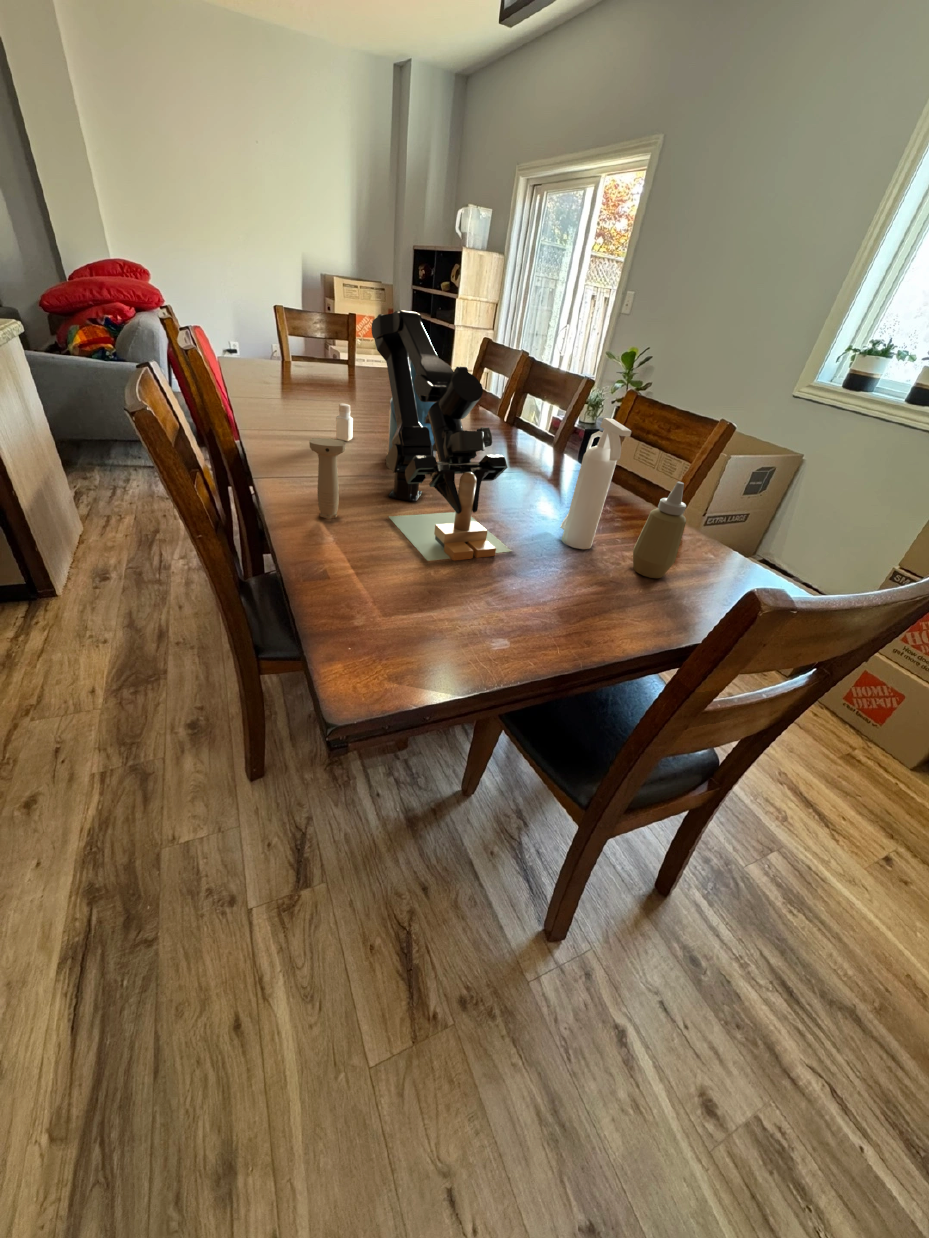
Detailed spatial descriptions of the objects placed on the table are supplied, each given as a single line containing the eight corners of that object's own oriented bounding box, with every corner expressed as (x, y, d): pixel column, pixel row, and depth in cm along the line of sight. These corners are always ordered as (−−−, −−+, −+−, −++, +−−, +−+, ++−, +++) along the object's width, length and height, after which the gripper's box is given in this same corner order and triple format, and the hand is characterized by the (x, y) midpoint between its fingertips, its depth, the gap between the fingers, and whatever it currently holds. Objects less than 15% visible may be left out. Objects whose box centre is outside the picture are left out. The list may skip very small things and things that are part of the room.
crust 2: (466, 548, 96) (467, 540, 96) (484, 546, 98) (485, 539, 97) (476, 558, 94) (477, 550, 93) (495, 556, 95) (496, 548, 95)
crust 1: (443, 551, 94) (444, 543, 93) (462, 549, 96) (463, 541, 95) (453, 560, 91) (454, 552, 91) (472, 558, 93) (473, 550, 92)
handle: (345, 524, 100) (345, 447, 92) (310, 522, 99) (308, 444, 91) (345, 515, 104) (345, 439, 96) (312, 513, 103) (310, 436, 94)
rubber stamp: (443, 549, 94) (452, 477, 87) (433, 538, 97) (441, 468, 90) (485, 544, 98) (497, 475, 91) (474, 535, 101) (485, 467, 94)
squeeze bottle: (663, 586, 96) (699, 494, 86) (622, 571, 99) (652, 481, 89) (672, 572, 102) (707, 484, 92) (633, 558, 105) (663, 472, 95)
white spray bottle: (576, 529, 114) (608, 412, 101) (602, 554, 105) (641, 428, 91) (549, 529, 112) (577, 409, 99) (573, 554, 103) (609, 425, 89)
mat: (387, 520, 105) (387, 516, 104) (464, 514, 113) (465, 511, 112) (426, 564, 91) (427, 560, 90) (511, 555, 99) (512, 551, 98)
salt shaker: (335, 439, 148) (335, 405, 143) (340, 436, 152) (340, 402, 146) (348, 442, 148) (348, 407, 143) (353, 438, 151) (353, 405, 146)
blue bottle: (433, 470, 136) (445, 344, 120) (383, 464, 135) (389, 336, 119) (436, 456, 148) (448, 339, 131) (390, 450, 147) (396, 331, 130)
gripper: (416, 406, 84) (437, 496, 82) (511, 410, 92) (533, 491, 90) (396, 441, 93) (414, 522, 92) (484, 442, 102) (502, 515, 100)
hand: (467, 512), depth 93 cm, fingers closed on rubber stamp, 3 cm apart
